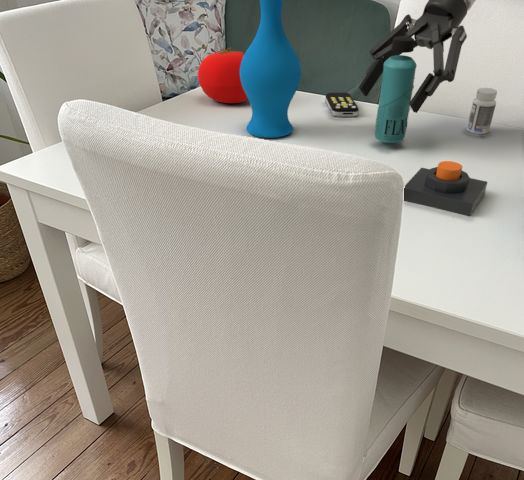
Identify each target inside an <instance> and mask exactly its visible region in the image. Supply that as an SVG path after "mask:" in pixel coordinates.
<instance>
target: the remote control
mask: <svg viewBox="0 0 524 480" xmlns="http://www.w3.org/2000/svg"><path fill="white" fill-rule="evenodd" d="M324 100H325V103H326V105H327V106H328V109H329V111H330V113H331V115H332V116H333V117H337V118H346V117H347V118H349V117H350V118H351V117H353V118H354V117H357V116H358V115H359V107H358V105H357V103H356V102H355V100H354V99H353V97H352V95H351V93H348V92H328V93H326V94H325V98H324Z"/></svg>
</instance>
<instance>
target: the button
mask: <svg viewBox="0 0 524 480" xmlns="http://www.w3.org/2000/svg"><path fill="white" fill-rule="evenodd" d="M436 167H437V172H436V177H438V178H440V179H444V180H453V181H455V180H459V179H460V175H461V171H463V165H462V164H461V163H459V162H456V161H453V160H443V161H440V162H438V164H437V166H436Z"/></svg>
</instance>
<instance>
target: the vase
mask: <svg viewBox="0 0 524 480" xmlns="http://www.w3.org/2000/svg"><path fill="white" fill-rule="evenodd" d="M259 4H260V5H259V6H260V22H259V26H258V29H257V31H256V34H255V37H254V38H253V40H252V42H251V44H250V45H249V47H248V48H247V49H246V51H245V52H244V54H245V55H244V57H243V59H242V61H241V65H240V80H241V84H242V87H243V89H244V91H245V93H246V95H247V97H248V98H247V100H248V101H249V104H250V107H251V117H250V121H249V122H248V123H247V124H246V127H245V130H246V131H247V133H249V134H250V135H252V136H255V137H258V138H263V139H265V138H266V139H276V138H282V137H286V136H288V135H290V134H291V133H292V132H293V131H294V127H293V124H292V123H291V121H290V120H289V115H288V113H289V112H288V111H289V107H290V105H291V102H292V100H293V98H294V96H295V94H296V92H297V90H298V88H299V86H300V82H301V79H302V66H301V62H300V59H299V56H298V54H297V52H296V51H295V49H294V47H293V46H292V45H291V43H290V40H289V39H288V37H287V35H286V33H285V32H286V31H285V30H284V26H283V20H282V19H283V18H282V10H283V4H284V0H259Z"/></svg>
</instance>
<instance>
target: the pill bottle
mask: <svg viewBox="0 0 524 480" xmlns="http://www.w3.org/2000/svg"><path fill="white" fill-rule="evenodd" d="M497 95H498V90H496V89H494V88H492V87H480V88H477V91H476V94H475V98H474V99H473V100H472V104H471V108H470V114H469V117H468V122H467V125H466V130H467V131H468V132H470V133H472V134H474V135H475V134H476V135H485V134H487V133H489V132H490V129H491V125H492V121H493V117H494V113H495V109H496V105H497V100H496V98H497Z"/></svg>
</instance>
